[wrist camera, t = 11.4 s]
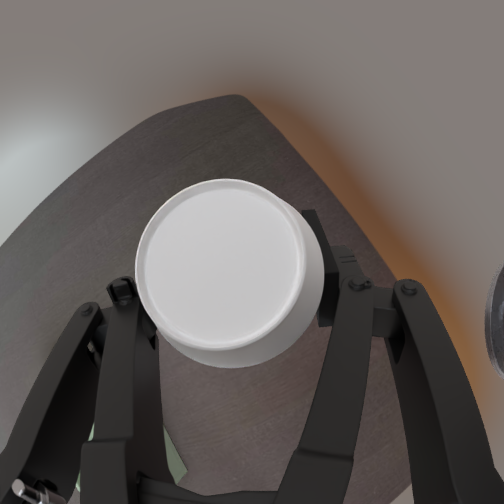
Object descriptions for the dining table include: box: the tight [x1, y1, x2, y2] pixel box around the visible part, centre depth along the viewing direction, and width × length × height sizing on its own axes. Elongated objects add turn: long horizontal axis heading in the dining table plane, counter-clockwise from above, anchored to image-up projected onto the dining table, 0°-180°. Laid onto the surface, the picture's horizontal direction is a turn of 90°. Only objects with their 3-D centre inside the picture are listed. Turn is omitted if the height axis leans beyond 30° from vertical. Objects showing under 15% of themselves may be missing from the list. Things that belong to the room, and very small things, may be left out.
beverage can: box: [135, 179, 324, 368], centre depth 13 cm, size 6×6×12 cm
